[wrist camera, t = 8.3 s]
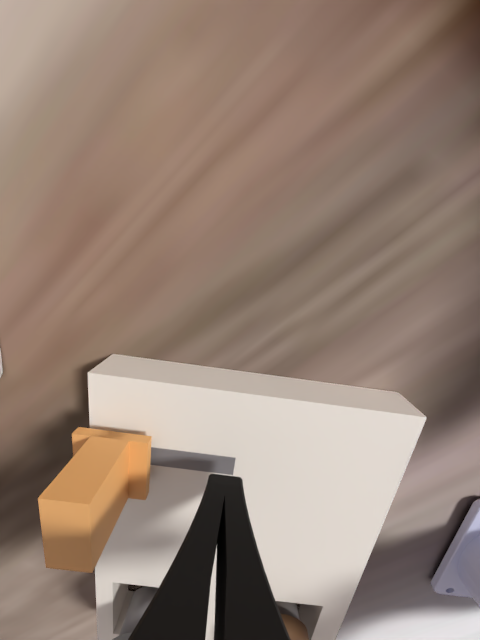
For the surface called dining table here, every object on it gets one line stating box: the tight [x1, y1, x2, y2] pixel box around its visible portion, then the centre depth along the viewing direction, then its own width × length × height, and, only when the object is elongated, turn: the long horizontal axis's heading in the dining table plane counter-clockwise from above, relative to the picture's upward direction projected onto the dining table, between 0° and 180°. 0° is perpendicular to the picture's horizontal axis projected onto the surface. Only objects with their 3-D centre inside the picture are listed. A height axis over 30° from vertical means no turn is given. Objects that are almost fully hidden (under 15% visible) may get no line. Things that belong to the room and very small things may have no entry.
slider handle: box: [38, 427, 152, 573], centre depth 9 cm, size 3×3×3 cm
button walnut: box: [276, 601, 309, 640], centre depth 14 cm, size 4×4×4 cm
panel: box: [88, 354, 427, 640], centre depth 14 cm, size 15×20×2 cm
